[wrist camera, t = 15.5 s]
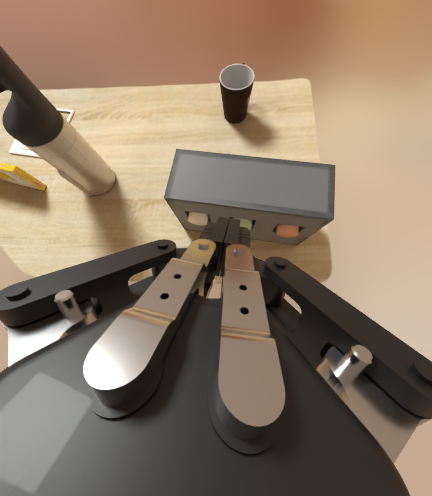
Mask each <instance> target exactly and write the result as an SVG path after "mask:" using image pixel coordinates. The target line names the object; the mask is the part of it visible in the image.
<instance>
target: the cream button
mask: <svg viewBox="0 0 432 496" xmlns="http://www.w3.org/2000/svg"><path fill="white" fill-rule="evenodd" d="M208 216H209V214H204V213H197V212H189V217H188V221H189V222H190V223H192V224H195V225H201V226H203V225H207V222H208Z"/></svg>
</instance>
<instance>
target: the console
mask: <svg viewBox="0 0 432 496" xmlns="http://www.w3.org/2000/svg"><path fill="white" fill-rule="evenodd" d="M334 191H335V165H328V164H320V163H310V162H300V161H290V160H280V159H270V158H261V157H251V156H241V155H231V154H221V153H212V152H202V151H192V150H182V149H176V153H175V157H174V161H173V165H172V168H171V172H170V176H169V180H168V184H167V188H166V192H165V195H164V198H165V200H166V201H167V203H168V204H169V206H170V208H171V209H172V211H173V212H174V214H175V215H176V217H177V218H178V220H179V221H180V223H181V224H182V226H183V227H184V229H187V230H194V231H201V232H203V230H204V228H205V226H206V225H203V226H201V225H195V224H192V223H190V222H189V221H188V217H189V212H197V213H204V214H209V216H210V219H208V222H207V224H209V223H217V221H218V218H219V217H224V218H229V221H230V217H234V218H241V219H249V220H255V222H254V224H253V225H252V227H251V230H250V239H257V240H264V241H270V242H277V243H284V244H291V245H298V244H299V243H301V242H302V241H304V240H305V239H307V238H308V237H309V236H311V235H312V234H314V233H315V232H317V231H318V230H319V229H321V228H322V227H324V226H325V225H327V224H328V223H329V222H331V221H332V220H334ZM277 224H286V225H293V226H299V230H298V236H296V237H291V238H286V237H280V236H278V235H277V234H276V232H277V228H275V227H276V225H277Z"/></svg>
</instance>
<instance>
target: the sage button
mask: <svg viewBox="0 0 432 496" xmlns="http://www.w3.org/2000/svg"><path fill="white" fill-rule="evenodd" d="M233 219H239V220H240V227H246V228H248V229H249V230H251V227H252V220H249V219H241V218H234V217H233Z"/></svg>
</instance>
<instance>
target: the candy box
mask: <svg viewBox="0 0 432 496" xmlns="http://www.w3.org/2000/svg"><path fill="white" fill-rule="evenodd" d="M0 180H3V181H7V182H11V183H15V184H18V185H22V186H26V187H30V188H34V189H38V190H42V191H44V190H45V188H46V185H45V184H43V183H42V182H40V181H39V180H37V179H36V178H34V177H33V176H31V175H29V174H28V173H26V172H25V171H23V170H22V169H20V168H18V167H17V166H12V165H8V164H4V163H0Z"/></svg>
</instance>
